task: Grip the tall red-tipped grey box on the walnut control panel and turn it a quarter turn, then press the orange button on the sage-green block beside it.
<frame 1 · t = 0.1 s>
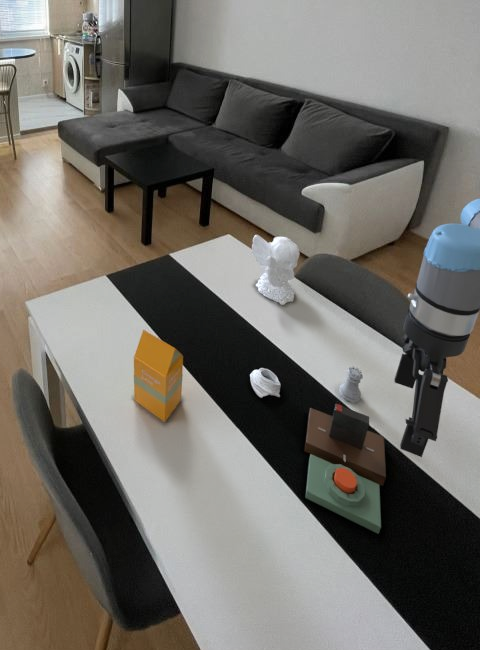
hand: (406, 415, 73), 24 cm above the table, tool pointing down, fingers open, 13 cm apart
button block: (341, 494, 84), on the table
rook chess piece: (349, 395, 103), on the table
red-tipped grey box: (348, 426, 89), point 7 cm above the table, hinge at 0.0°
orange juice: (157, 400, 105), on the table
button: (345, 480, 82), point 4 cm above the table, slide at 0.1 cm
cherub figurine: (274, 294, 136), on the table
panel: (342, 448, 92), on the table
white folded cloth ring: (264, 386, 106), on the table
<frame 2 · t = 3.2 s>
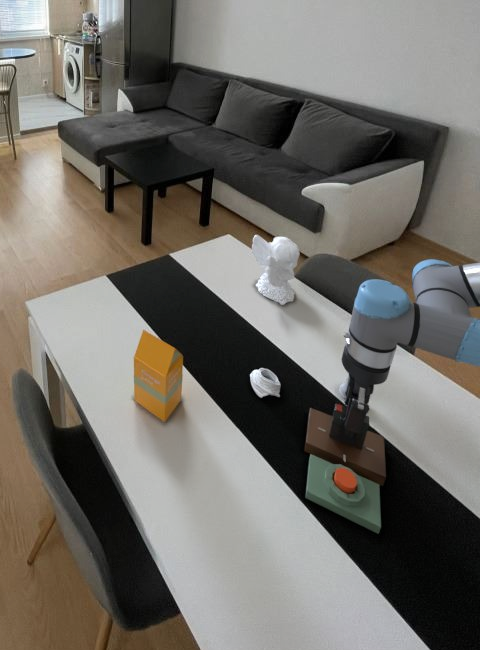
hand: (345, 436, 90), 4 cm above the table, tool pointing down, fingers closed on red-tipped grey box, 2 cm apart
red-tipped grey box: (348, 426, 89), point 7 cm above the table, hinge at 0.0°, touching gripper
everything else where it was.
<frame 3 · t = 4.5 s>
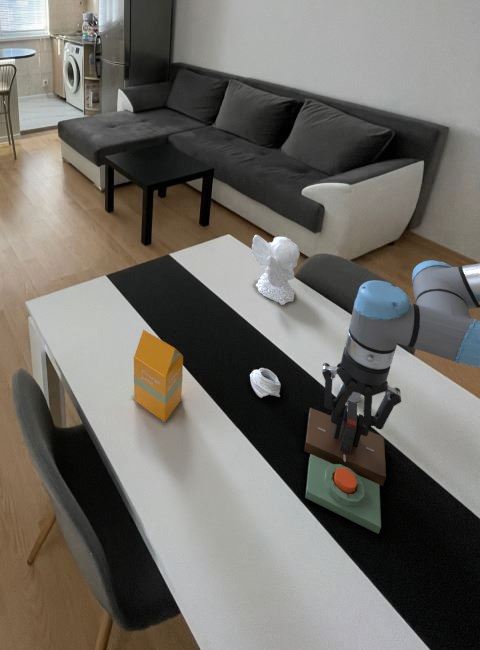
hand: (345, 437, 90), 4 cm above the table, tool pointing down, fingers open, 3 cm apart
red-tipped grey box: (348, 426, 89), point 7 cm above the table, hinge at 89.3°
everything else where it was.
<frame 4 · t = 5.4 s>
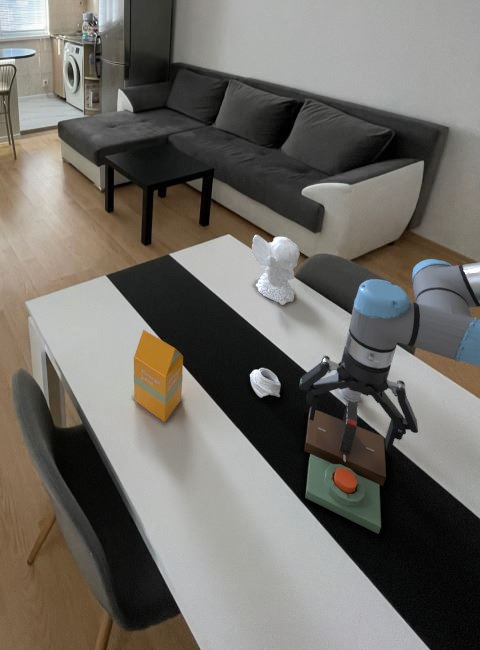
hand: (348, 429, 89), 6 cm above the table, tool pointing down, fingers open, 13 cm apart
nothing on the table moved.
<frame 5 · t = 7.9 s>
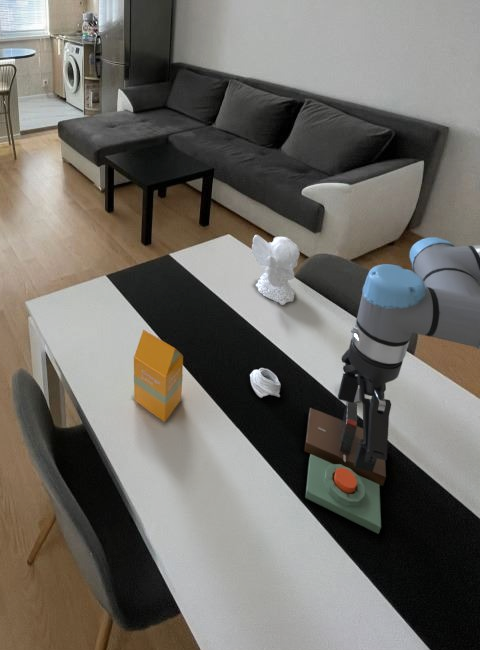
hand: (353, 431, 81), 14 cm above the table, tool pointing down, fingers open, 13 cm apart
nothing on the table moved.
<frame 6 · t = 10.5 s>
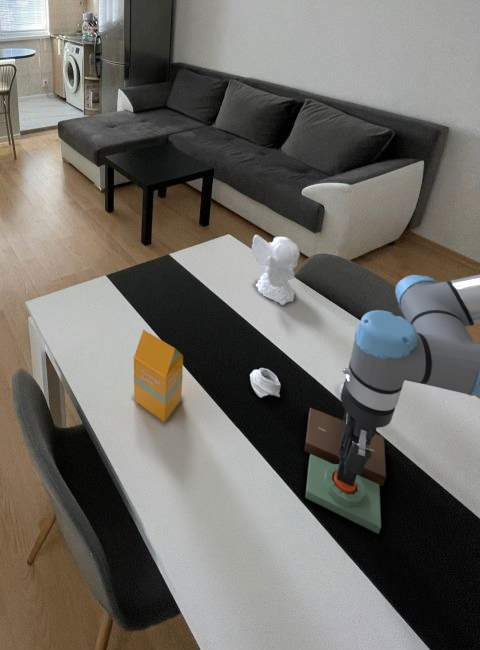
hand: (344, 479, 82), 5 cm above the table, tool pointing down, fingers closed
button: (344, 482, 82), point 4 cm above the table, slide at -0.7 cm, touching gripper
everything else where it was.
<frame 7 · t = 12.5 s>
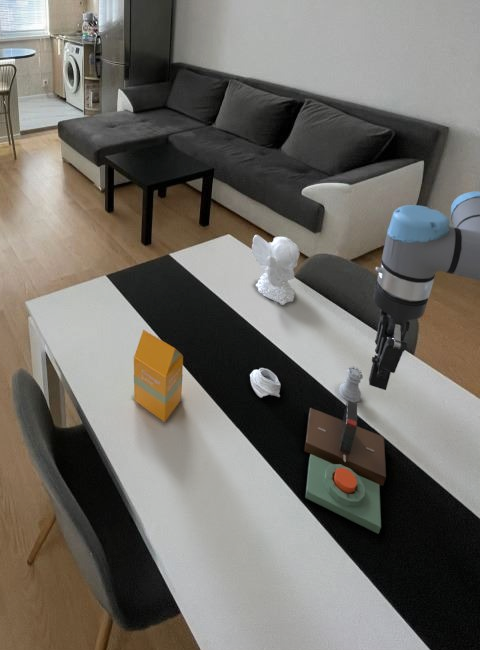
hand: (377, 384, 84), 19 cm above the table, tool pointing down, fingers closed
button: (345, 480, 82), point 4 cm above the table, slide at 0.1 cm
everything else where it was.
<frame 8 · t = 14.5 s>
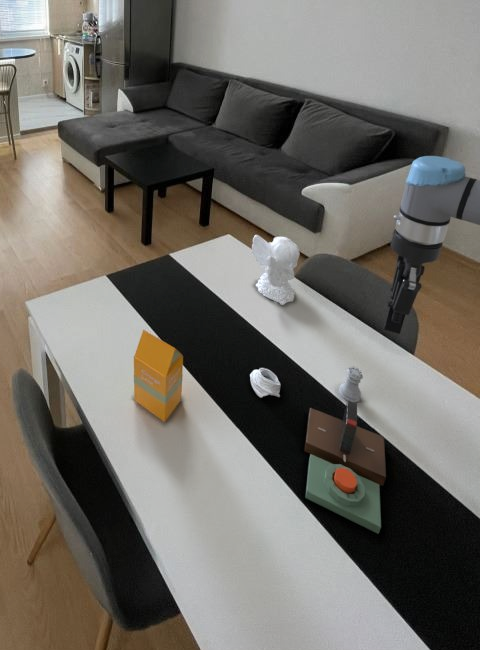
hand: (391, 329, 90), 24 cm above the table, tool pointing down, fingers closed
nothing on the table moved.
at the end: red-tipped grey box at +89° (first picture: +0°); button pushed in 1.0 cm at the most during the clip, back to where it started at the end; button slide at 0.1 cm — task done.
